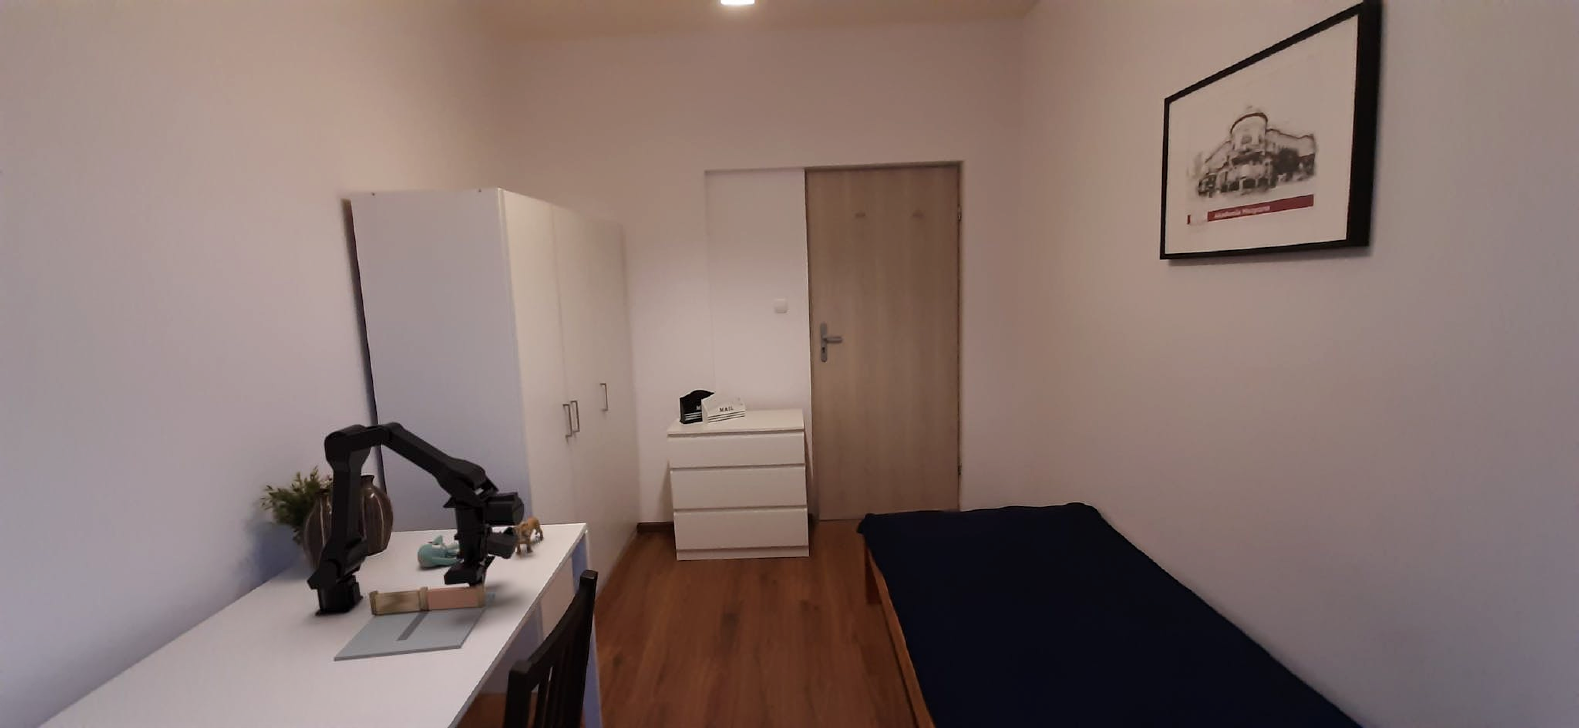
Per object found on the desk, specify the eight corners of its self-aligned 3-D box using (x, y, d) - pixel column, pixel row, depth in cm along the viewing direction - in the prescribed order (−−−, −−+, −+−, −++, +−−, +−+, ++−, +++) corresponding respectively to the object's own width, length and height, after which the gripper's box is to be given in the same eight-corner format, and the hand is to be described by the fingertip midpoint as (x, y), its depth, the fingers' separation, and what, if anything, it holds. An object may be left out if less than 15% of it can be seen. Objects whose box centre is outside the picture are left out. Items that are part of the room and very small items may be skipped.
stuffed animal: (480, 534, 159) (432, 543, 149) (478, 563, 159) (430, 574, 149) (455, 526, 165) (408, 534, 155) (453, 554, 165) (405, 564, 154)
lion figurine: (533, 558, 156) (530, 524, 155) (510, 561, 156) (507, 526, 154) (546, 534, 171) (543, 503, 170) (525, 536, 170) (522, 504, 169)
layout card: (334, 660, 117) (333, 657, 117) (387, 604, 136) (387, 601, 136) (460, 647, 119) (459, 644, 119) (494, 595, 139) (494, 592, 139)
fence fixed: (370, 615, 130) (367, 595, 130) (374, 611, 132) (371, 591, 131) (419, 610, 132) (416, 590, 131) (422, 606, 133) (420, 586, 132)
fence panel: (421, 610, 132) (418, 590, 131) (424, 606, 133) (422, 586, 133) (484, 606, 132) (482, 586, 132) (487, 602, 134) (485, 582, 133)
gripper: (498, 540, 125) (506, 614, 128) (523, 505, 143) (530, 570, 146) (438, 546, 124) (447, 619, 126) (471, 510, 142) (479, 575, 144)
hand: (479, 594), depth 136 cm, fingers closed
